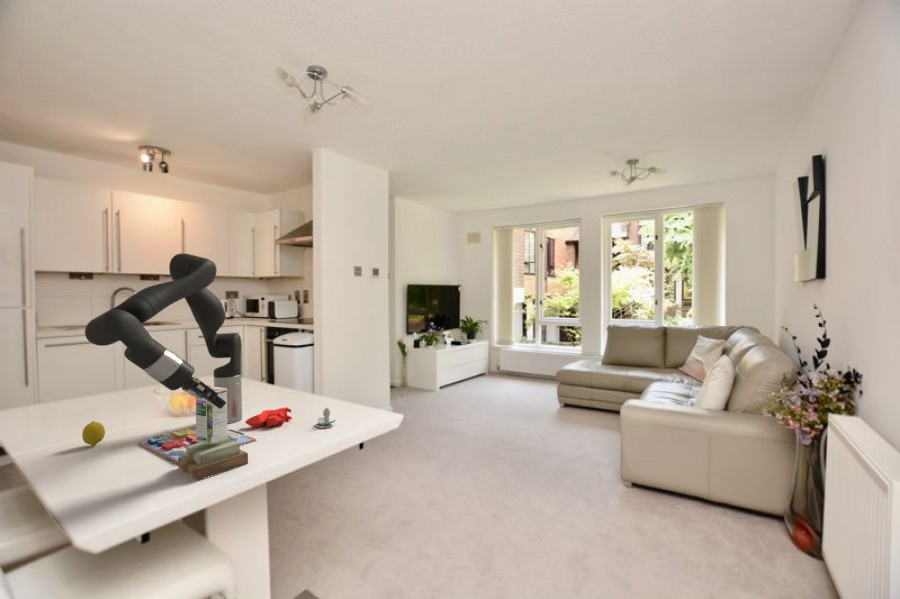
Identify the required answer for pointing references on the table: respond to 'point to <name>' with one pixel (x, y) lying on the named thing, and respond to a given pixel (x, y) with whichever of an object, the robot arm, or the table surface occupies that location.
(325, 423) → the pacifier
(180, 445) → the puzzle board
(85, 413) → the table surface
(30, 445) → the table surface
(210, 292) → the robot arm
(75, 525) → the table surface
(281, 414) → the animal figurine
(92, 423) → the lemon
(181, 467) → the plinth
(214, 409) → the syrup box
